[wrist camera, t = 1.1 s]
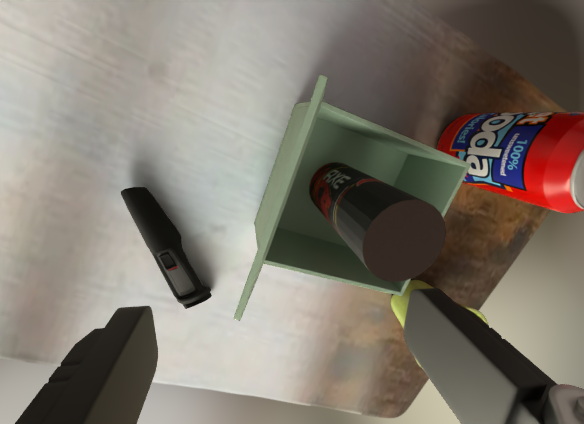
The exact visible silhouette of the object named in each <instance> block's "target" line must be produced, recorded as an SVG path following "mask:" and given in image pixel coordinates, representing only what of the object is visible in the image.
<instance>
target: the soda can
mask: <svg viewBox="0 0 584 424" xmlns="http://www.w3.org/2000/svg"><path fill="white" fill-rule="evenodd" d="M437 150H439V151H441V152H444V153H446V154H448V155H451V156H453V157H455V158H458V159H460V160H462V161H465V162H467V163H470V164H471V166H470V168H469V170H468V172H467V174H466V176H465V178H464V179H463V181H462V183H464V184H468V185H471V186H474V187H477V188H481V189H484V190H487V191H491V192H494V193H497V194H501V195H504V196H507V197H511V198H514V199H517V200H521V201H524V202H527V203H530V204H534V205H537V206H540V207H544V208H547V209H550V210H554V211H558V212H562V213H576V212H580V211H584V112H527V113H472V114H467V115H463V116H461V117H459V118H457V119H456V120H454V121H453V122H452V123H451V124H450V125H449V126H448V127H447V128H446V129H445V131H444V132H443V134H442V135H441V137H440V140H439V142H438V146H437Z"/></svg>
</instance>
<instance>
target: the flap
mask: <svg viewBox="0 0 584 424" xmlns="http://www.w3.org/2000/svg"><path fill="white" fill-rule="evenodd" d="M327 80H328V77H326V76H324V75H320V76H319V79H318V81H317V84H316V87H315V90H314V93H313V95H312V98H311V101H310V104H309V107H308V110H307V112H306V115H305V118H304V121H303V124H302V126H301V129H300V132H299V135H298V138H297V141H296V143H295V146H294V149H293V152H292V155H291V158H290V160H289V163H288V166H287V169H286V172H285V174H284V177H283V180H282V183H281V186H280V189H279V191H278V194H277V197H276V200H275V203H274V205H273V208H272V211H271V214H270V217H269V220H268V222H267V225H266V228H265V231H264V234H263V237H262V239H261V242H260V245H259V248H258V251H257V253H256V256H255V259H254V262H253V265H252V268H251V270H250V273H249V276H248V279H247V282H246V284H245V287H244V290H243V293H242V296H241V299H240V301H239V304H238V307H237V310H236V313H235V316H234V319H236V320H238V321H240V319H241V317H242V315H243V312H244V310H245V307H246V305H247V302H248V300H249V298H250V295H251V293H252V290H253V288H254V285H255V283H256V281H257V278H258V276H259V273H260V271H261V268H262V266H263V263H264V260H265V258H266V255H267V252H268V249H269V247H270V244H271V241H272V238H273V236H274V233H275V230H276V228H277V225H278V222H279V219H280V217H281V214H282V211H283V208H284V206H285V203H286V200H287V197H288V195H289V192H290V189H291V186H292V184H293V181H294V178H295V176H296V173H297V170H298V167H299V165H300V162H301V159H302V156H303V154H304V151H305V148H306V145H307V143H308V140H309V137H310V134H311V132H312V129H313V126H314V124H315V121H316V118H317V115H318V113H319V110H320V107H321V104H322V102H323V98H324V93H325V89H326V84H327Z"/></svg>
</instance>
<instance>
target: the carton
mask: <svg viewBox="0 0 584 424" xmlns="http://www.w3.org/2000/svg"><path fill="white" fill-rule="evenodd" d="M309 104H310V102H305V103H300V104H295V106H294V108H293V111H292V114H291V117H290V120H289V123H288V126H287V129H286V132H285V135H284V138H283V141H282V144H281V147H280V149H279V152H278V155H277V158H276V161H275V164H274V167H273V170H272V173H271V176H270V179H269V182H268V185H267V188H266V190H265V193H264V196H263V199H262V202H261V205H260V208H259V211H258V214H257V217H256V220H255V223H254V224H255V231H256V239H257V247H258V248H259V245H260V242H261V239H262V237H263V234H264V231H265V228H266V225H267V222H268V220H269V217H270V214H271V211H272V208H273V205H274V203H275V200H276V197H277V194H278V191H279V189H280V186H281V183H282V180H283V177H284V174H285V172H286V169H287V166H288V163H289V160H290V158H291V155H292V152H293V149H294V146H295V143H296V141H297V138H298V135H299V132H300V129H301V126H302V124H303V121H304V118H305V115H306V112H307V110H308V107H309ZM334 162H339V163H344V164H346V165H348V166H350V167H352V168H354V169H357V170H359V171H361V172H363V173H365V174H367V175H369V176H372V177H374V178H376V179H378V180H380V181H382V182H384V183H387V184H389V185H391V186H393V187H395V188H397V189H400V190H402V191H404V192H406V193H408V194H410V195H412V196H415V197H417V198H419V199H421V200H423V201H425V202H427V203H429V204H431V205H433V206H434V207H435V208H436V209H437V210H438V211H439V212H440V213H441V215H442V217H444V215H445V214H446V212H447V210H448V208H449V206H450V204H451V202H452V200H453V198H454V197H455V195H456V193H457V191H458V189H459V187H460V185H461V183H462V181H463V179H464V178H465V176H466V174H467V172H468V170H469V168H470V166H471V164H470V163H467V162H465V161H462V160H460V159H458V158H455V157H453V156H451V155H448V154H446V153H444V152H441V151H439V150H436V149H434V148H432V147H429V146H427V145H425V144H422V143H420V142H418V141H415V140H413V139H410V138H408V137H406V136H403V135H401V134H399V133H396V132H394V131H392V130H389V129H387V128H384V127H382V126H380V125H377V124H375V123H373V122H370V121H368V120H366V119H363V118H361V117H358V116H356V115H354V114H351V113H349V112H347V111H344V110H342V109H339V108H337V107H335V106H332V105H330V104H328V103H325V102H322V104H321V107H320V110H319V113H318V115H317V118H316V121H315V124H314V126H313V129H312V132H311V134H310V137H309V140H308V143H307V145H306V148H305V151H304V154H303V156H302V159H301V162H300V165H299V167H298V170H297V173H296V176H295V178H294V181H293V184H292V186H291V189H290V192H289V195H288V197H287V200H286V203H285V206H284V208H283V211H282V214H281V217H280V219H279V222H278V225H277V228H276V230H275V233H274V236H273V238H272V241H271V244H270V247H269V249H268V252H267V255H266V258H265V260H264V263H263V264H267V265H272V266H276V267H280V268H284V269H288V270H293V271H297V272H301V273H305V274H310V275H314V276H318V277H322V278H327V279H331V280H335V281H339V282H344V283H348V284H352V285H356V286H361V287H365V288H369V289H373V290H378V291H382V292H386V293H390V294H395V295H399V296H402V295H403V293H404V291H405V289H406V287H407V286H408V284H409V282H410V280H411V279H409V280H406V281H399V282H392V281H385V280H383V279H380V278H378V277H376V276H375V275H374V274H373V273H371V272H370V271H369V270H368V268H367V267H366V266H365V265H364V264H363V262H362V261H361V260H360V259H359V258H358V256H357V255H356V254H355V253H354V252H353V250H352V249H351V248H350V247H349V246H348V244H347V243H346V242H345V241H344V239H343V238H342V237H341V236H340V235H339V233H338V232H337V231H336V230H335V229H334V227H333V226H332V225H331V224H330V223H329V221H328V220H327V219H326V218H325V217H324V215H323V214H322V213H321V212H320V211H319V209H318V208H317V207H316V206H315V205H314V203H313V201H312V200H311V197H310V194H309V185H310V181H311V179H312V177H313V175H314V173H315V172H316V171H317V170H318V169H319V168H321V167H322V166H324V165H326V164H328V163H334Z"/></svg>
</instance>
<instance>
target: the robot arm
mask: <svg viewBox="0 0 584 424" xmlns="http://www.w3.org/2000/svg"><path fill="white" fill-rule="evenodd" d="M404 338H405V342H406V344H407V346H408V348H409V350H410V351H411V353H412V354H413V356H414V357H415V358H416V360H417V361H418V363H419V364H420V366H421V367H422V368H423V370H424V371H425V373H426V374H427V376H428V377H429V378H430V380H431V381H432V383H433V384H434V386H435V387H436V389H437V390H438V391H439V393H440V394H441V396H442V397H443V399H444V400H445V401H446V403H447V404H448V406H449V407H450V409H451V410H452V411H453V413H454V414H455V416H456V417H457V419H458V420H459V421H460V423H461V424H584V389H582V388H579V387H575V386H572V385H565V384H560V385H558V384H556V383H555V382H554V381H553V380H552V379H551V378H549V377H548V376H547V375H546V374H545V373H544V372H542V371H541V370H540V369H539V368H538V367H537V366H535V365H534V364H533V363H532V362H531V361H530V360H528V359H527V358H526V357H525V356H524V355H523V354H521V353H520V352H519V351H518V350H517V349H516V348H514V347H513V346H512V345H511V344H510V343H509V342H508V341H506V340H505V339H502V338H501V335H499V334H498V333H497V332H496V331H495V330H494V329H492V328H489V325H488V324H487V323H485V322H484V321H483V320H482V319H481V318H480V317H478V316H477V315H476V314H475V313H474V312H472V311H470V310H468V309H466V308H465V307H463V306H461V305H459V304H458V303H455V302H454V301H453V300H452V299H451V298H450V297H448V296H447V295H446V294H445V293H444V292H443V291H442V290H440V289H438V288H426V289H414V290H412V292H411V293H410V297H409V302H408V307H407V313H406V318H405V323H404ZM157 360H158V347H157V340H156V334H155V327H154V321H153V314H152V310H151V307H150V306H139V307H124V308H119V309H117V311H116V312H115V313H114V315H113V316H112V318H111V319H110V321H109V322H108V323H107V325H106V326H105V328H100V329H94V330H93V331H92V332H90V333H89V334H88V335H87V336H85V337H84V338H83V339H82V340H80V341H79V342H78V343H76V344H75V345H74V347H73V348H72V349H71V351H70V352H69V353H68V354H67V356H66V357H65V358H64V360H63V361H62V362H61V366H60V367H58V368H57V369H56V370H55V372H54V373H53V374H52V376H51V377H50V378H49V382H48V383H46V384H45V385H44V386H43V387H42V389H41V390H40V391H39V393H38V394H37V395H36V397H35V398H34V399H33V400H32V402H31V403H30V405H29V406H28V407H27V408H26V410H25V411H24V412H23V414H22V415H21V416H20V418H19V419H18V420H17V422H16V423H15V424H137V420H138V418H139V415H140V412H141V410H142V407H143V404H144V401H145V399H146V396H147V393H148V391H149V388H150V385H151V382H152V380H153V377H154V374H155V371H156V367H157Z"/></svg>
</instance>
